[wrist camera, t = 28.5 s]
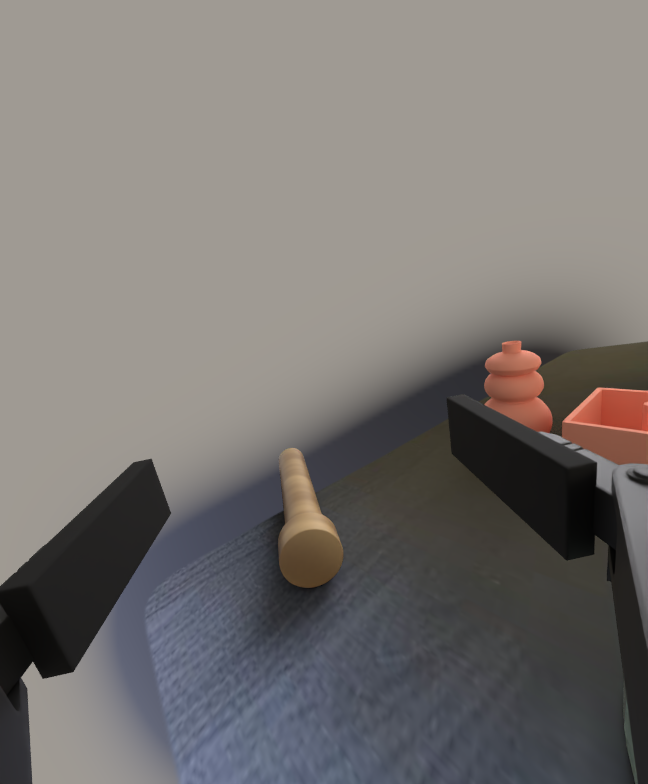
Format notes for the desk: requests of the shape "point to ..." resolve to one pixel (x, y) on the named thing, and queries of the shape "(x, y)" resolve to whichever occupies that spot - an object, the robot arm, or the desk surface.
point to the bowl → (628, 735)
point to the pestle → (305, 528)
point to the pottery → (586, 423)
